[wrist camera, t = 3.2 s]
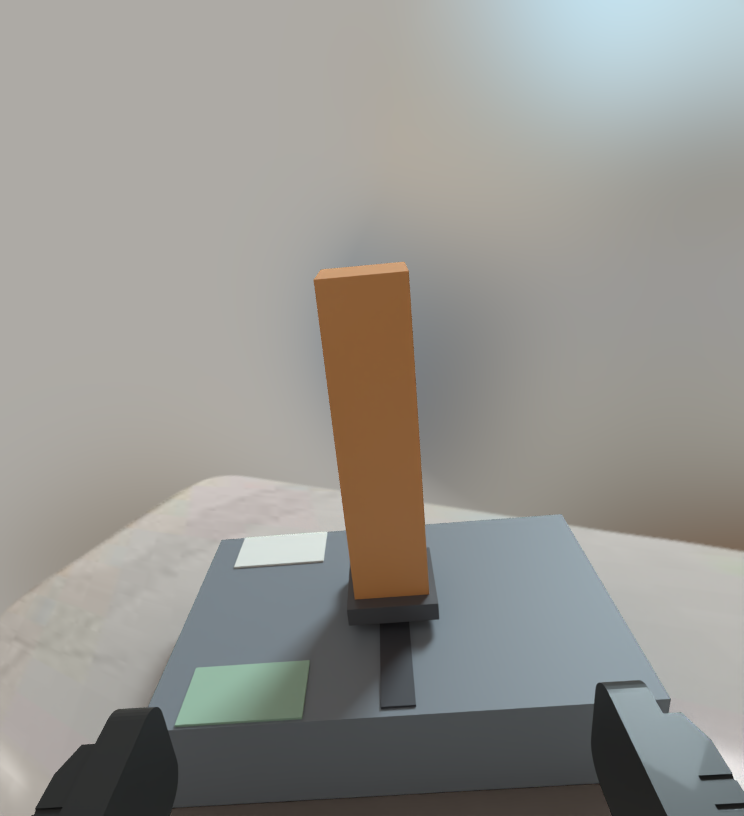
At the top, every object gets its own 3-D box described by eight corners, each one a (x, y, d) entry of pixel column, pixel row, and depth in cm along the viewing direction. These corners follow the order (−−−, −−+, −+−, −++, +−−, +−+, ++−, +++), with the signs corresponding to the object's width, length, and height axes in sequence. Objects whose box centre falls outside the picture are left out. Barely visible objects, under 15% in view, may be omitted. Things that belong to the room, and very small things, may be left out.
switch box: (657, 779, 19) (671, 696, 18) (164, 808, 20) (136, 730, 18) (558, 576, 29) (561, 512, 28) (235, 599, 30) (221, 538, 28)
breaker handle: (439, 619, 21) (419, 272, 16) (348, 625, 21) (302, 283, 16) (430, 561, 24) (411, 259, 20) (352, 567, 25) (314, 268, 20)
